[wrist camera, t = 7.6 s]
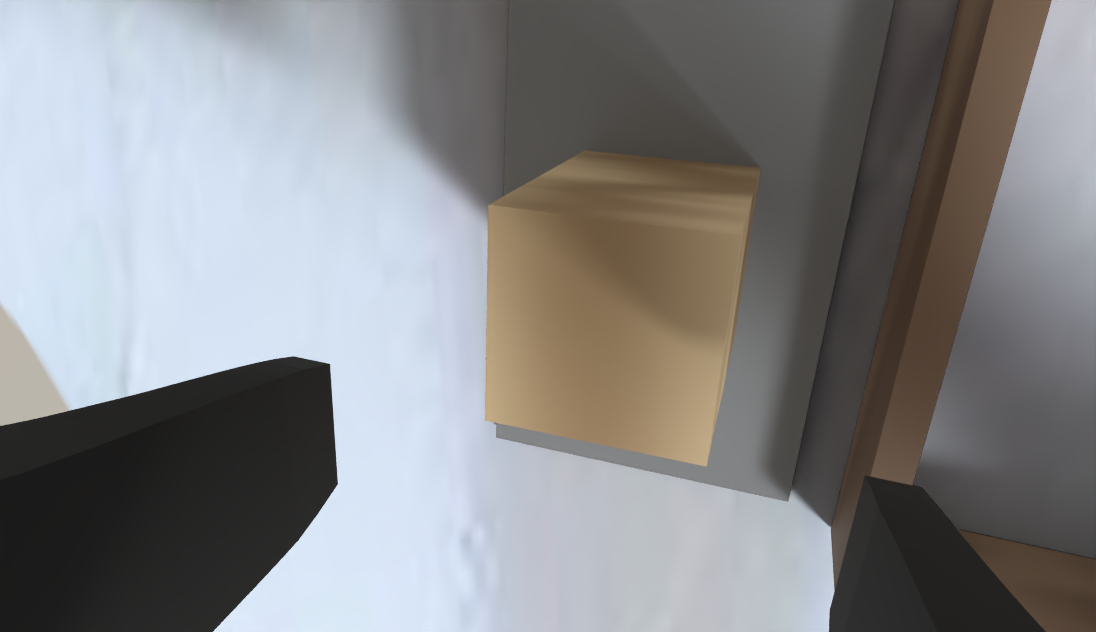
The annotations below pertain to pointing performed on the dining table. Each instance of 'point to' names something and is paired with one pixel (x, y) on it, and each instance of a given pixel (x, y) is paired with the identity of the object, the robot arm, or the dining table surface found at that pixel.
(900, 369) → the frame box
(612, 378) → the oak block
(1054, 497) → the dining table surface
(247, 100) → the dining table surface
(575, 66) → the mat
